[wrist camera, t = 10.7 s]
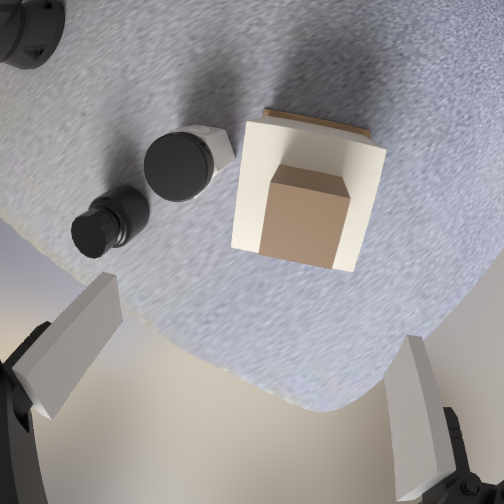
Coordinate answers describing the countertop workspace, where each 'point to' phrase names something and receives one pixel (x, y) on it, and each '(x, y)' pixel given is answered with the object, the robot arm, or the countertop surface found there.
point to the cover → (305, 192)
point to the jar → (187, 161)
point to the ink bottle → (110, 221)
